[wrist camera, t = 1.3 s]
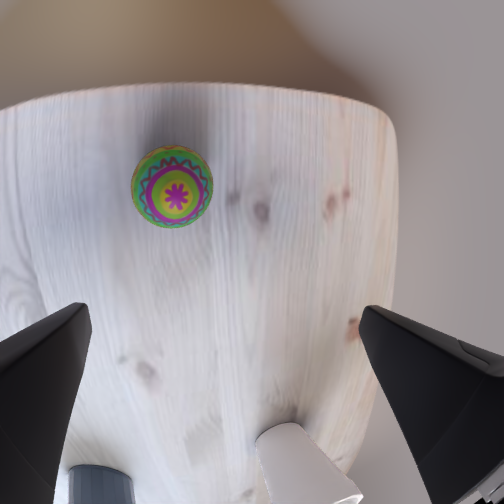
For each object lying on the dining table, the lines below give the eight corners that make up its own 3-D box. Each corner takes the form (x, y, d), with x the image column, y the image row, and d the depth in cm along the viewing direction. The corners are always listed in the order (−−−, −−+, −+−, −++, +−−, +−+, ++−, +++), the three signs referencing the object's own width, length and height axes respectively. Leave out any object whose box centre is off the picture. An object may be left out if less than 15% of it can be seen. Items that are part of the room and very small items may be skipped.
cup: (58, 476, 25) (57, 517, 18) (87, 457, 25) (87, 505, 18) (111, 497, 29) (116, 535, 22) (145, 480, 29) (153, 523, 23)
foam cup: (311, 403, 32) (369, 484, 20) (313, 439, 35) (358, 507, 24) (235, 432, 30) (277, 526, 18) (249, 464, 33) (285, 539, 22)
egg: (219, 188, 20) (244, 202, 15) (163, 232, 20) (168, 263, 15) (177, 131, 18) (188, 123, 13) (119, 177, 18) (105, 188, 13)
